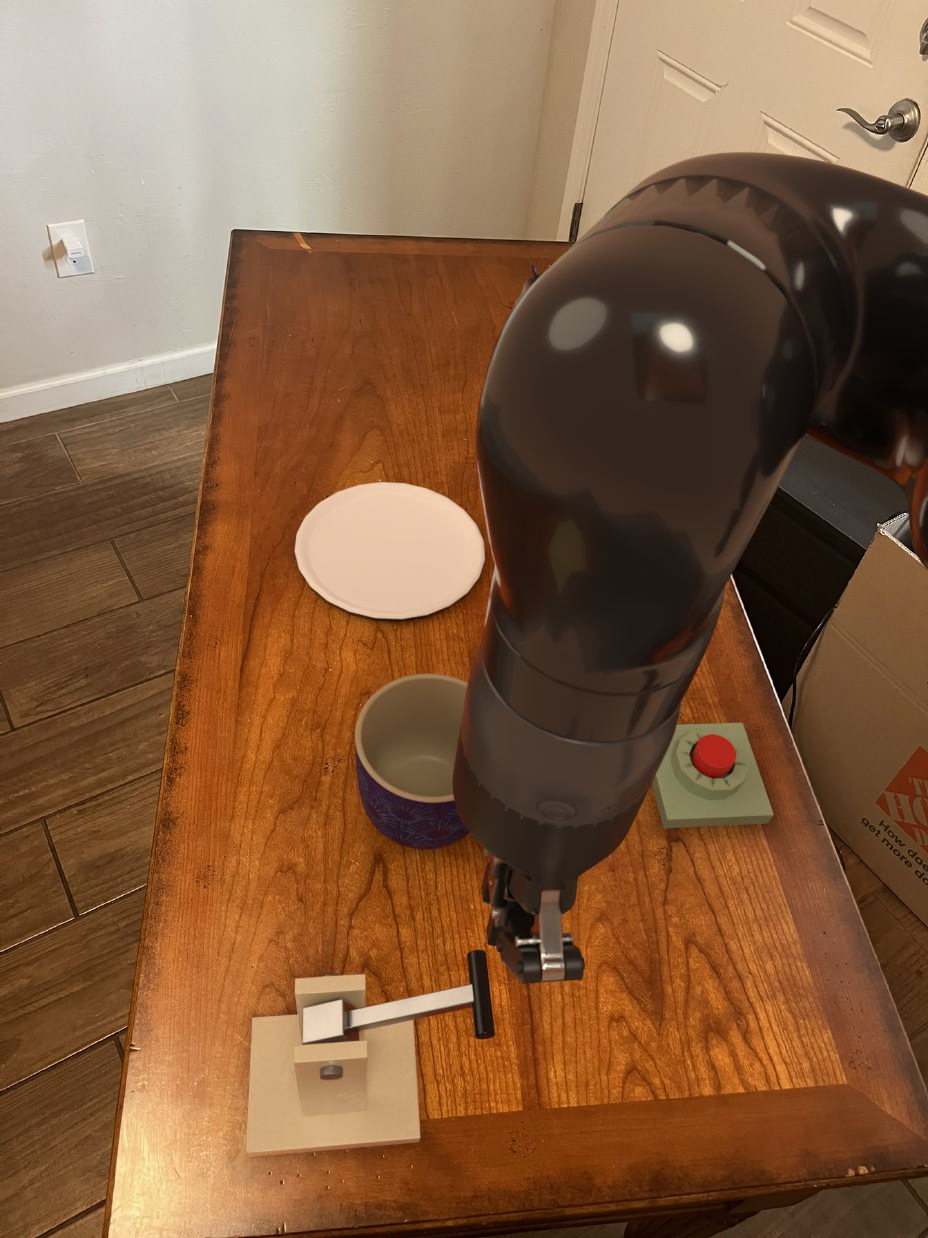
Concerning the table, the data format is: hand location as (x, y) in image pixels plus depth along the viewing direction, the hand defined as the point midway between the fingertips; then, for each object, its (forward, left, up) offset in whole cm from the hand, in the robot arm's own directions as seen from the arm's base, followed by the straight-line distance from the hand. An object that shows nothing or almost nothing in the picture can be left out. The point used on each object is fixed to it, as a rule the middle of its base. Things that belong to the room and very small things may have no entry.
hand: (504, 916), depth 48 cm
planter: (+20, -11, -29) cm, 37 cm away
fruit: (+68, -66, -29) cm, 99 cm away
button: (+7, -34, -26) cm, 44 cm away
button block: (+7, -34, -29) cm, 45 cm away
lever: (+2, +4, -15) cm, 16 cm away
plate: (+47, -26, -29) cm, 61 cm away
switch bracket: (+5, +8, -29) cm, 30 cm away
